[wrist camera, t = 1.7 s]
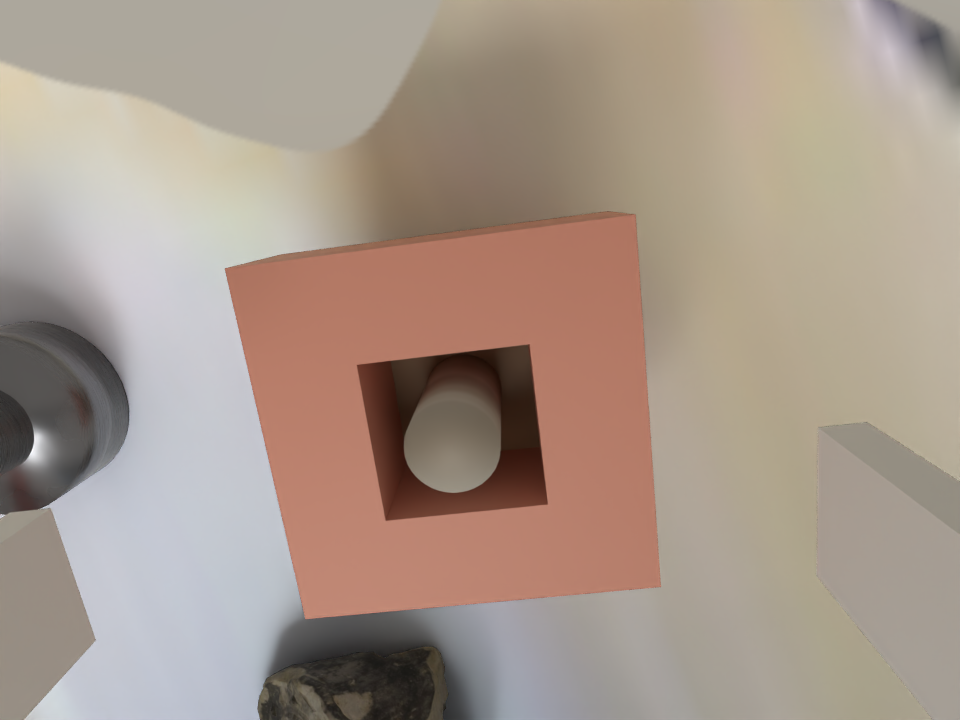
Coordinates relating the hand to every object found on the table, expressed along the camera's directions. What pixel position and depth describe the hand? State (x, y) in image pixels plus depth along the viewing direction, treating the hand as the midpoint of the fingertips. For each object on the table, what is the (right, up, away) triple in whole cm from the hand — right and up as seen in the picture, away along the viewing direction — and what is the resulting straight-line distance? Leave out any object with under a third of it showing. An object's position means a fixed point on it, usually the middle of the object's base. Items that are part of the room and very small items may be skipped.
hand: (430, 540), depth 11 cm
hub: (-17, +1, +15) cm, 23 cm away
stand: (+1, +3, +14) cm, 15 cm away
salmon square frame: (0, +2, +9) cm, 10 cm away
